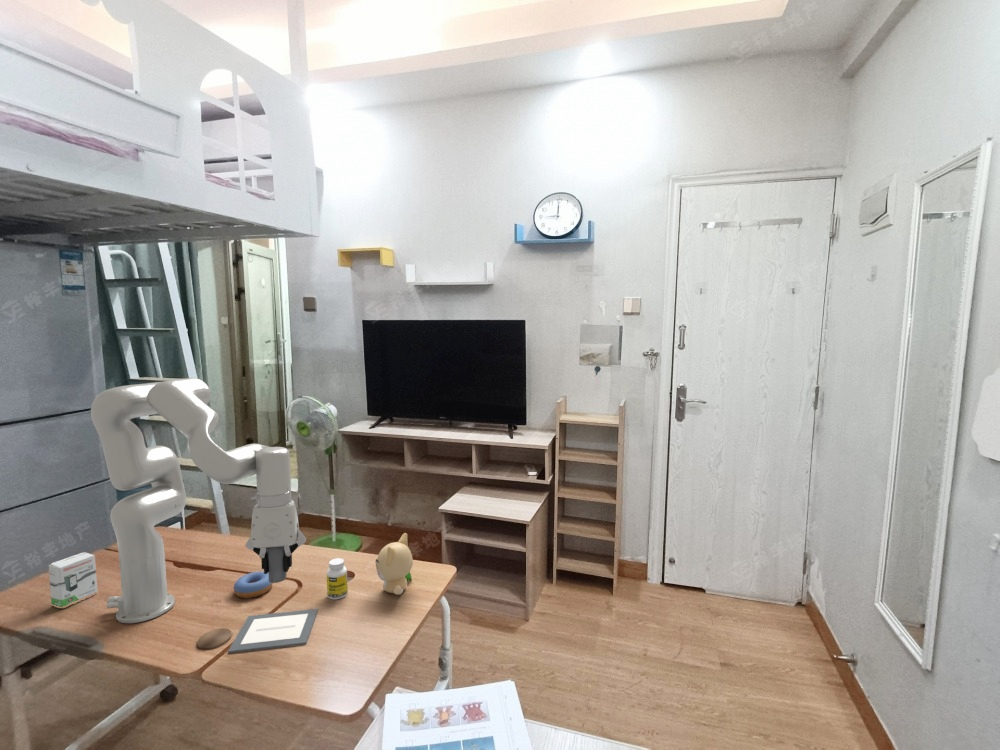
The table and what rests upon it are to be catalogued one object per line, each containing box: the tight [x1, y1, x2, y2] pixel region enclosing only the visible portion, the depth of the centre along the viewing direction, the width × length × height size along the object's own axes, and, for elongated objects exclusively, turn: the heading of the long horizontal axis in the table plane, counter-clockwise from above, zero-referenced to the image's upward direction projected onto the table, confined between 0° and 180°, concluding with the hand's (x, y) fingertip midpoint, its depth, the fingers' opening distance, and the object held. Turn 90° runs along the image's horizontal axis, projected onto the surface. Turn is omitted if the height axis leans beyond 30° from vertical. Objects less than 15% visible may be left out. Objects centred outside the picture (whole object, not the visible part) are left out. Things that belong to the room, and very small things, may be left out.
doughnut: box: [233, 571, 274, 599], centre depth 137 cm, size 10×10×5 cm
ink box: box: [48, 551, 98, 607], centre depth 132 cm, size 9×5×12 cm, turn 159°
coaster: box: [197, 627, 233, 650], centre depth 115 cm, size 7×7×1 cm
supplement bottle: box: [326, 557, 349, 600], centre depth 134 cm, size 5×5×10 cm
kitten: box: [375, 532, 414, 596], centre depth 136 cm, size 15×10×15 cm, turn 164°
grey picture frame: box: [227, 608, 319, 654], centre depth 118 cm, size 17×14×1 cm
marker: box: [268, 546, 288, 584], centre depth 118 cm, size 4×4×11 cm
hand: (277, 569), depth 119 cm, fingers closed on marker, 3 cm apart
